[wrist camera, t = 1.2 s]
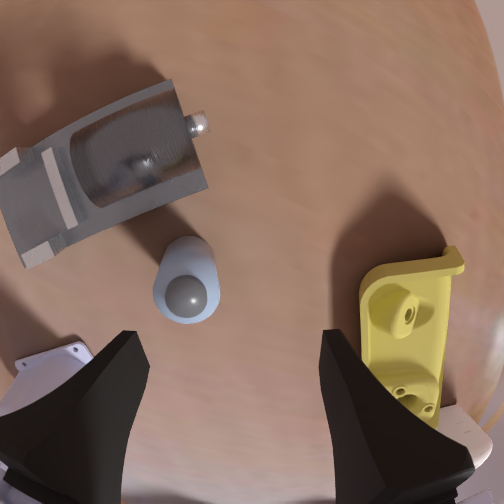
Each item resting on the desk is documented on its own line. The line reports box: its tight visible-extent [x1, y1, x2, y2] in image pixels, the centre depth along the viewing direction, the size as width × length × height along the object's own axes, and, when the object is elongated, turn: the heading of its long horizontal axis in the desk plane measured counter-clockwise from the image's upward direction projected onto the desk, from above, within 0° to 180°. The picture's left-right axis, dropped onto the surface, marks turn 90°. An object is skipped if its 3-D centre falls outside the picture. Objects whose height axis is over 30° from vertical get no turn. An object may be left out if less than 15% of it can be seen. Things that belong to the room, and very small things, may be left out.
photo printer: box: [436, 405, 492, 469], centre depth 28 cm, size 10×4×12 cm, turn 74°
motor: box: [0, 79, 210, 269], centre depth 15 cm, size 15×7×7 cm, turn 108°
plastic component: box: [359, 245, 464, 430], centre depth 25 cm, size 20×7×10 cm
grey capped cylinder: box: [153, 236, 220, 324], centre depth 18 cm, size 4×4×6 cm
